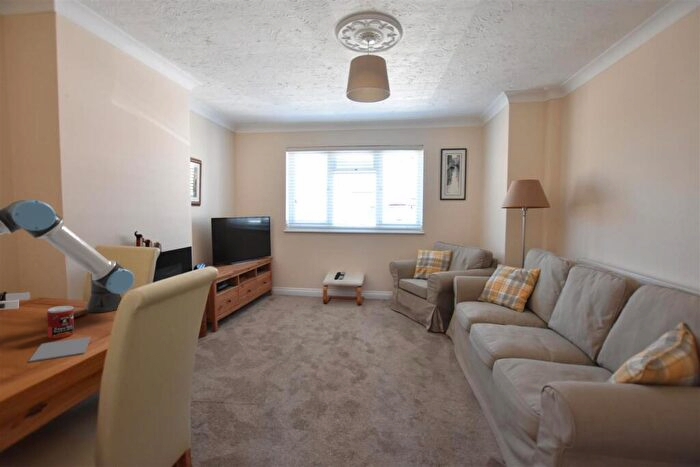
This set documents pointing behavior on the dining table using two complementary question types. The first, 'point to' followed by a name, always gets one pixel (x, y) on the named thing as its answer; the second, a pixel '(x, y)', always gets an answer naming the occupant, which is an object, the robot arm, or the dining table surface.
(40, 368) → the dining table surface
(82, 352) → the rubber mat
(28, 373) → the dining table surface
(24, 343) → the dining table surface
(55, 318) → the canned food
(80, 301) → the dining table surface
